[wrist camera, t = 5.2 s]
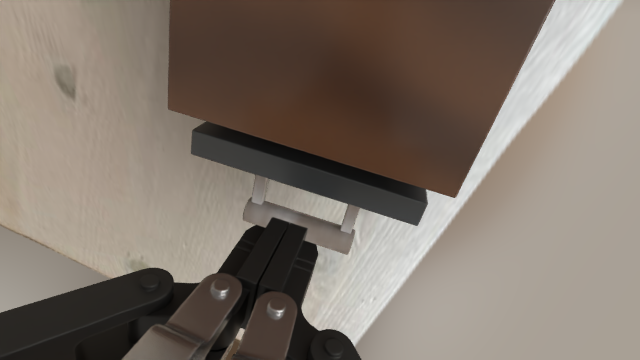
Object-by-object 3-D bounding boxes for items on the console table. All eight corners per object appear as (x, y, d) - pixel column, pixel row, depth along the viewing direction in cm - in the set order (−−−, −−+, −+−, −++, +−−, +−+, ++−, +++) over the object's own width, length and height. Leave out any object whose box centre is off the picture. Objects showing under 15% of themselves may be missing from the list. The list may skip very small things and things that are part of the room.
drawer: (389, 221, 23) (384, 299, 17) (240, 174, 24) (186, 232, 18) (533, -129, 14) (623, -217, 8) (289, -187, 15) (215, -303, 9)
